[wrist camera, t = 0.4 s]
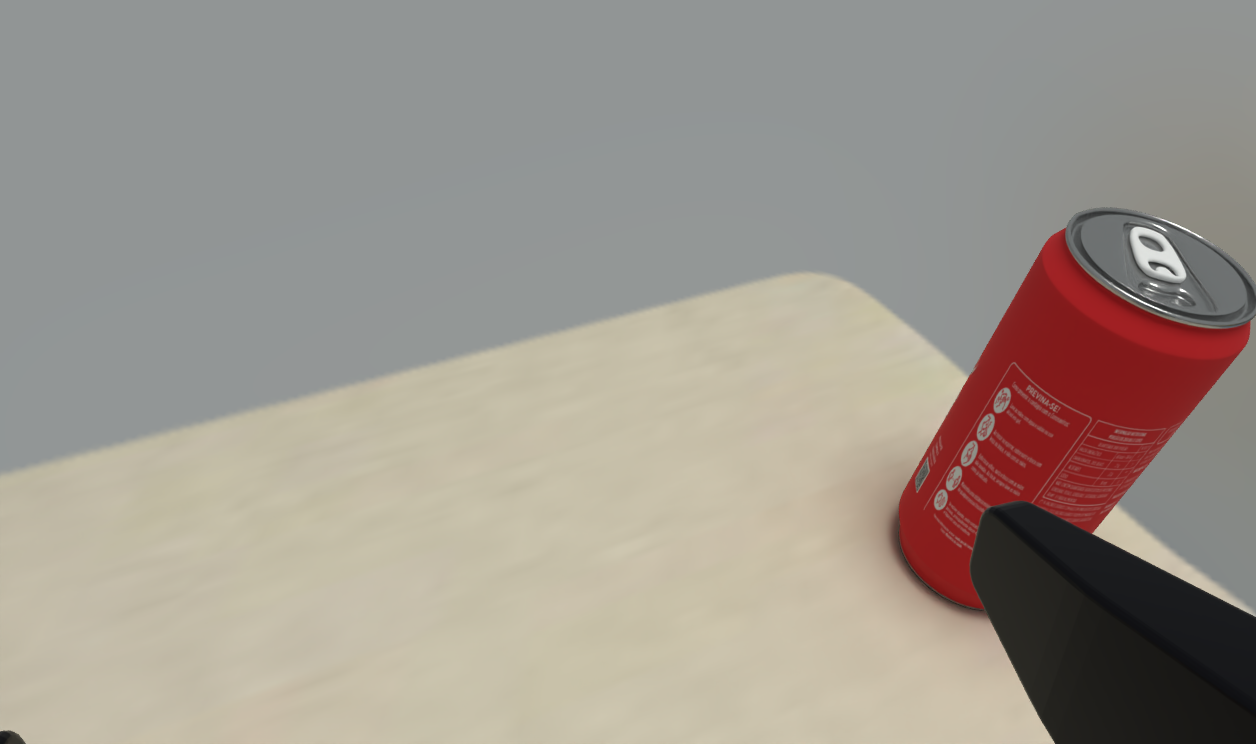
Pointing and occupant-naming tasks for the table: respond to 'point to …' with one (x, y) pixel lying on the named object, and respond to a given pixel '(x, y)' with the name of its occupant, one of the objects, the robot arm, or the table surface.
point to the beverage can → (1077, 384)
